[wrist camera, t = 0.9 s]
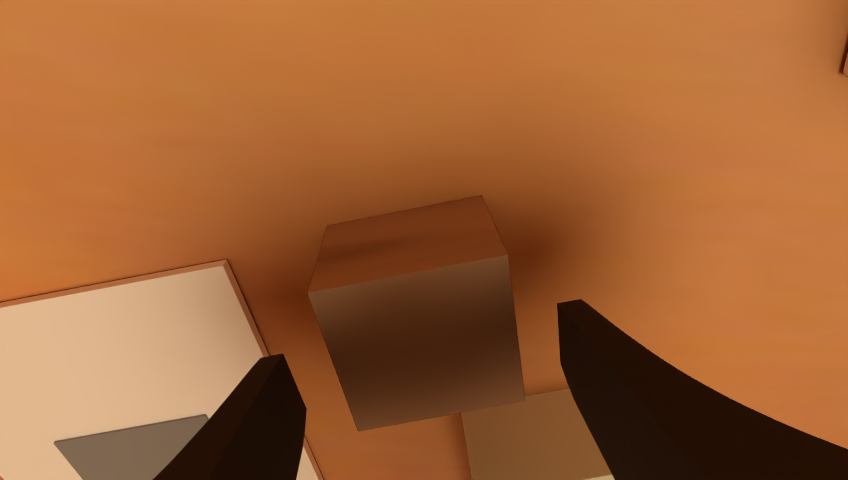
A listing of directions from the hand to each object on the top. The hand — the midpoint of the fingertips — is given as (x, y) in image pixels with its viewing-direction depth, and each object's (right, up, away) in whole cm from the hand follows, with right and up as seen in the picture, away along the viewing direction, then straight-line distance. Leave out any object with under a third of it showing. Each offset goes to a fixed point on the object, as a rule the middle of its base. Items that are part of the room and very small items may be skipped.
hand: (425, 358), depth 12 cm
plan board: (-11, -7, +7) cm, 15 cm away
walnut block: (0, +2, +4) cm, 4 cm away
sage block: (+4, -5, +8) cm, 11 cm away
